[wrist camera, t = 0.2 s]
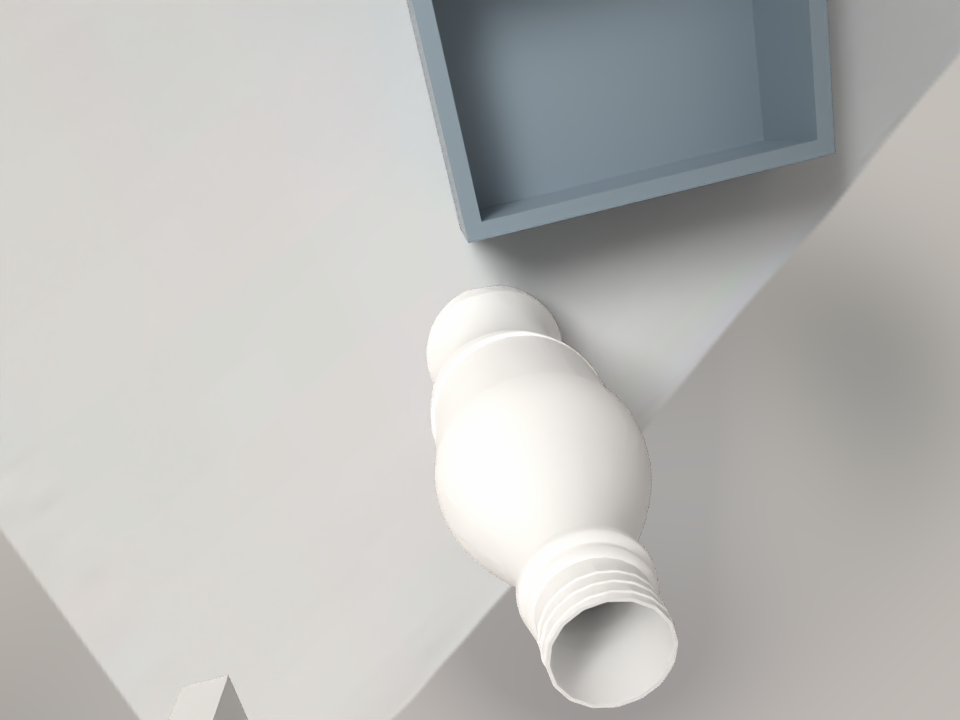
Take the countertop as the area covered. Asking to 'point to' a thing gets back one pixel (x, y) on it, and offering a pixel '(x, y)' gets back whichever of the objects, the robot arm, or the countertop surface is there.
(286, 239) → the countertop surface
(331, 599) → the countertop surface
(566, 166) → the tote
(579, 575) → the water bottle
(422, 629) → the countertop surface
